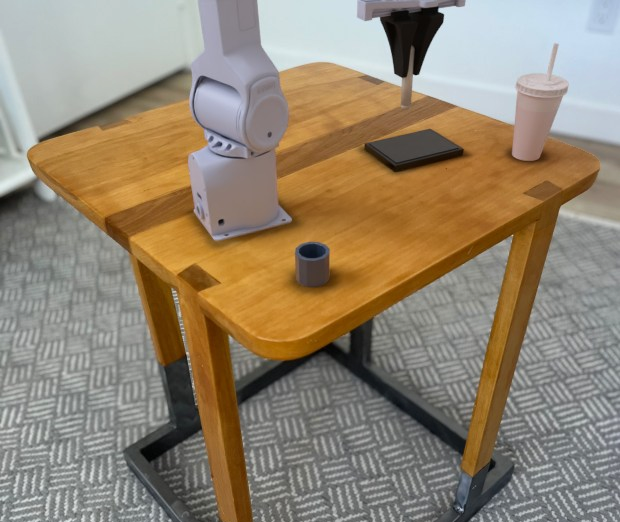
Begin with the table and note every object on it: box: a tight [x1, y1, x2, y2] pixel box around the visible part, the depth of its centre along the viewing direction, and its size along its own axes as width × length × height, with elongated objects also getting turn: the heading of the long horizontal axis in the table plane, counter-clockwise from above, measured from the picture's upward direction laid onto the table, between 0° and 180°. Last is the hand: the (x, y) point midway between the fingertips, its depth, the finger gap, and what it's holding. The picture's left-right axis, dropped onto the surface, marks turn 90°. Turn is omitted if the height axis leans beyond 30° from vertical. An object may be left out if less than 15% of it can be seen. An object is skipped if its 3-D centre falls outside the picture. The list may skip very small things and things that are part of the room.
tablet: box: [363, 128, 465, 173], centre depth 85 cm, size 11×8×1 cm
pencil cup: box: [294, 241, 331, 288], centre depth 62 cm, size 3×3×4 cm
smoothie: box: [511, 42, 570, 162], centre depth 79 cm, size 6×6×14 cm
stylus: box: [400, 46, 414, 111], centre depth 81 cm, size 1×1×8 cm
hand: (406, 74), depth 80 cm, fingers closed on stylus, 1 cm apart
